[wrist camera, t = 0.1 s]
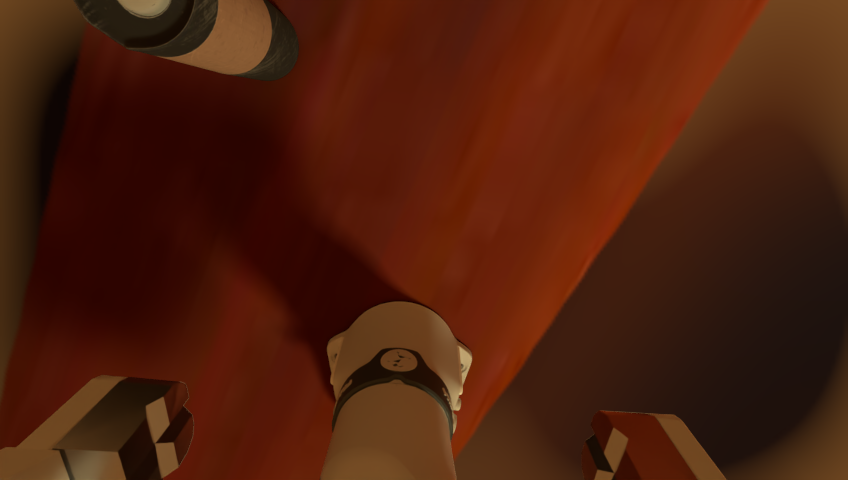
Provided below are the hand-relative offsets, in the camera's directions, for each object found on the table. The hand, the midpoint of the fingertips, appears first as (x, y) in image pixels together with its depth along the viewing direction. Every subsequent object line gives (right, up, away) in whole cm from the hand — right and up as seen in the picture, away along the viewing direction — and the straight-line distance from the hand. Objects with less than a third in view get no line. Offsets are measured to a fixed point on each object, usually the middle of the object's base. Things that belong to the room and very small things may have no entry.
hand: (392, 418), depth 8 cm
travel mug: (-16, +24, +34) cm, 44 cm away
